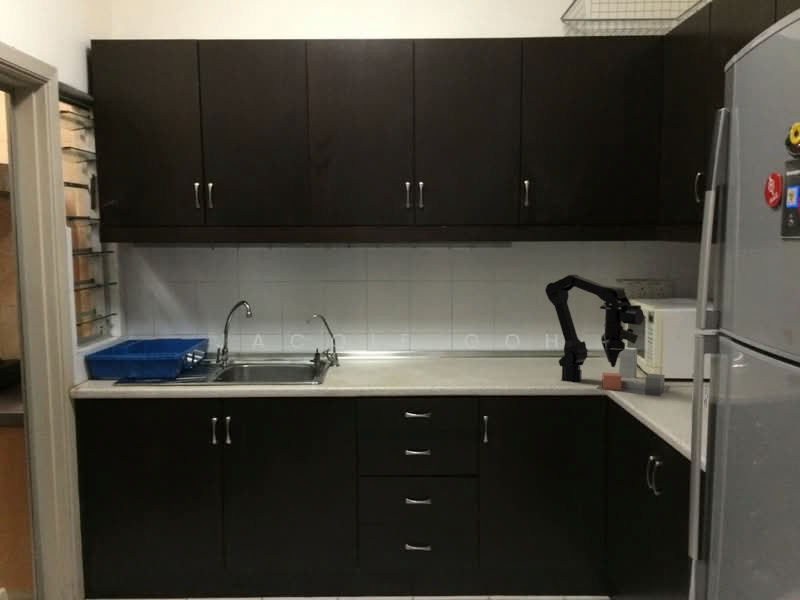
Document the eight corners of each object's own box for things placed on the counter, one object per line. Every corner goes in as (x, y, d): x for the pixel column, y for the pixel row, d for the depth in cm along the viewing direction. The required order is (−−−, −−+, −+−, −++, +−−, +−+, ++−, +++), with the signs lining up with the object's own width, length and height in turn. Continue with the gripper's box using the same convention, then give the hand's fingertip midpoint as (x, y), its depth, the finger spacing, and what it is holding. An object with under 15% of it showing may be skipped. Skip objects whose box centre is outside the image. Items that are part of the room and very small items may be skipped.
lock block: (603, 388, 231) (603, 375, 230) (601, 385, 236) (602, 372, 236) (620, 389, 230) (621, 376, 229) (618, 386, 235) (619, 373, 234)
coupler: (595, 390, 231) (595, 375, 231) (609, 380, 248) (609, 366, 248) (659, 398, 220) (660, 382, 219) (669, 387, 237) (670, 372, 236)
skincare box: (636, 378, 253) (637, 348, 252) (634, 379, 250) (635, 349, 249) (621, 376, 257) (622, 346, 256) (618, 378, 253) (619, 348, 252)
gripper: (641, 326, 220) (639, 370, 221) (632, 319, 238) (631, 361, 240) (607, 325, 222) (605, 369, 224) (601, 318, 241) (600, 359, 242)
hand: (611, 364), depth 232 cm, fingers open, 9 cm apart
